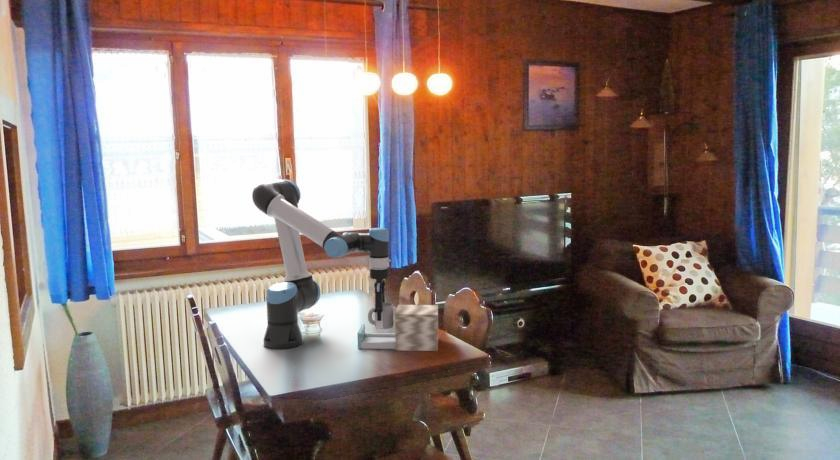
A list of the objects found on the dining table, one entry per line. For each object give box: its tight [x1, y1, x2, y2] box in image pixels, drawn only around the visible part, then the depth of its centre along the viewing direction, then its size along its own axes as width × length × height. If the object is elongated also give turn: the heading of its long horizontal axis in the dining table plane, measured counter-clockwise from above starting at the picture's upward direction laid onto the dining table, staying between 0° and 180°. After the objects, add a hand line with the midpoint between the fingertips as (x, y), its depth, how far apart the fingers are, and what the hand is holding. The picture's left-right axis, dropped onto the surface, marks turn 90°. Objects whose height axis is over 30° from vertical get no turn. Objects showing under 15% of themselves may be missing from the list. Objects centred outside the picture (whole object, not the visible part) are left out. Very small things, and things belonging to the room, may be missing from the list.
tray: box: [357, 323, 396, 350], centre depth 254 cm, size 19×13×6 cm
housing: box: [394, 304, 439, 352], centre depth 253 cm, size 16×15×14 cm
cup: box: [367, 301, 394, 330], centre depth 253 cm, size 7×10×9 cm
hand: (380, 325), depth 254 cm, fingers closed on cup, 7 cm apart
